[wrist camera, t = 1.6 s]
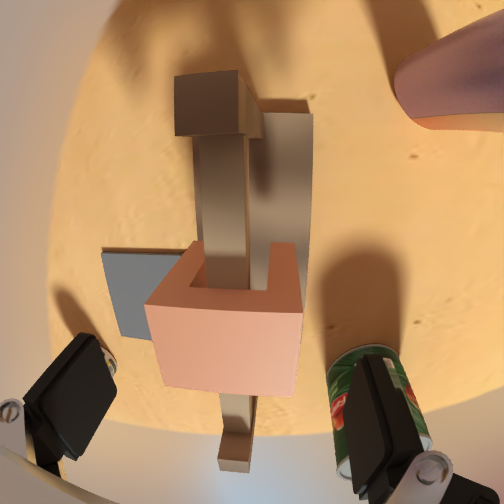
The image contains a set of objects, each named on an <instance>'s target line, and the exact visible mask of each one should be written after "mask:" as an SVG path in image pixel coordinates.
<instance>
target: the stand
mask: <svg viewBox="0 0 504 504" xmlns="http://www.w3.org/2000/svg"><path fill="white" fill-rule="evenodd" d="M174 120H175V136H187V137H193V164H194V186H195V205H196V221H197V235H198V241H204V253H205V266H206V279H207V288H218V289H242V290H266V289H267V279H268V268H269V256H270V245H271V242H284V243H295V250H296V257H297V265H298V272H299V280H300V288H301V296H302V305H303V318H304V307H305V296H306V284H307V271H308V257H309V241H310V223H311V201H312V169H313V114H306V113H262V111H261V109H260V108H259V106H258V104H257V102H256V100H255V99H254V97H253V95H252V93H251V92H250V90H249V88H248V86H247V85H246V83H245V81H244V79H243V78H242V76H241V74H240V73H239V71H238V70H232V71H218V72H207V73H197V74H189V75H181V76H174ZM302 328H303V323H302ZM301 337H302V333H301ZM300 344H301V342H300ZM219 397H220V404H221V411H222V418H223V424H224V428H223V433H222V438H221V443H220V448H219V453H218V458H217V460H218V464H219V468H220V470H221V471H230V472H241V473H249V469H250V461H251V452H252V444H253V435H254V426H255V417H256V408H257V398H258V396H253V395H238V394H226V393H219Z"/></svg>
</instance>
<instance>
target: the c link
mask: <svg viewBox="0 0 504 504" xmlns="http://www.w3.org/2000/svg"><path fill="white" fill-rule="evenodd" d="M144 307H145V312H146V316H147V321H148V325H149V329H150V334H151V338H152V342H153V346H154V349H155V353H156V357H157V361H158V364H159V368H160V371H161V375H162V378H163V381H164V385H165V386H169V387H176V388H183V389H190V390H198V391H206V392H215V393H226V394H238V395H253V396H277V397H294V391H295V384H296V376H297V368H298V360H299V351H300V342H301V333H302V323H303V305H302V296H301V288H300V280H299V272H298V265H297V257H296V250H295V243H284V242H271V245H270V256H269V268H268V279H267V289H266V290H242V289H218V288H207V279H206V266H205V253H204V241H193V242H192V244H191V245H190V246H189V247H188V249H187V250H186V251H185V252H184V254H183V255H182V256H181V257H180V259H179V260H178V261H177V262H176V264H175V265H174V266H173V267H172V269H171V270H170V271H169V272H168V274H167V275H166V276H165V278H164V279H163V280H162V281H161V283H160V284H159V285H158V287H157V288H156V289H155V290H154V292H153V293H152V294H151V296H150V297H149V298H148V300H147V301H146V302H145V304H144Z"/></svg>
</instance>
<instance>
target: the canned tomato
mask: <svg viewBox="0 0 504 504" xmlns="http://www.w3.org/2000/svg"><path fill="white" fill-rule="evenodd" d="M372 353H380V354H381V355H382V357H383V359H384V362H385V364H386V367H387V369H388V372H389V374H390V377H391V379H392V382H393V385H394V387H395V388H400V389H401V390H402V391H403V393H404V396H405V398H406V401H407V403H408V406H409V409H410V411H411V414H412V417H413V419H414V422H415V425H416V428H417V431H418V433H419V436H420V439H421V442H422V445H423V448H424V451H425V452H426V451H430V449H431V447H432V439H431V437H430V435H429V432H428V429H427V426H426V423H425V421H424V418H423V416H422V413H421V410H420V408H419V405H418V403H417V400H416V397H415V395H414V393H413V390H412V388H411V385H410V383H409V381H408V378H407V376H406V373H405V371H404V368H403V366H402V364H401V362H400V360H399V356H398V354H397V353H396V351H394V350H393V349H392V348H391V347H388V346H386V345H382V344H367V345H362V346H359V347H356V348H353V349H351V350H349V351H347V352H345V353H344V354H342V355H341V356H340V357H338V358H337V359H336V360H335V361H334V362H333V363H332V364H331V366H330V368H329V369H328V372H327V374H326V383H327V387H328V395H329V402H330V409H331V411H330V412H331V419H332V427H333V435H334V443H335V455H336V462H337V475H338V476H339V477H340V478H341V479H343V480H346V481H352V476H351V469H350V462H349V455H348V448H347V441H346V435H345V428H344V422H343V414H342V413H343V407H344V404H345V401H346V397H347V394H348V391H349V387H350V384H351V381H352V377H353V374H354V370H355V366H356V363H357V360H358V359H359V358H362V357H363V355H364V354H372Z"/></svg>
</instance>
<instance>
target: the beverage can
mask: <svg viewBox="0 0 504 504" xmlns="http://www.w3.org/2000/svg"><path fill="white" fill-rule="evenodd" d="M394 87H395V92H396V96H397V99H398V101H399V103H400V105H401V107H402V109H403V110H404V111H405V113H406V114H407V115H408V116H409V117H410V118H411V119H412V120H413V121H414V122H415V123H417V124H418V125H420V126H422V127H424V128H427V129H431V130H470V131H489V132H502V133H504V9H502V10H500V11H497V12H495V13H493V14H490V15H488V16H486V17H484V18H482V19H479V20H477V21H475V22H473V23H471V24H469V25H467V26H465V27H463V28H461V29H459V30H457V31H455V32H453V33H451V34H449V35H447V36H445V37H443V38H441V39H439V40H437V41H436V42H434V43H432V44H430V45H428V46H426V47H425V48H423V49H421V50H419V51H417V52H416V53H414V54H412V55H410V56H409V57H407V58H405V59H404V60H403V61H402V62H401V63H400V64H399V65H398V67H397V69H396V72H395V77H394Z"/></svg>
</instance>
